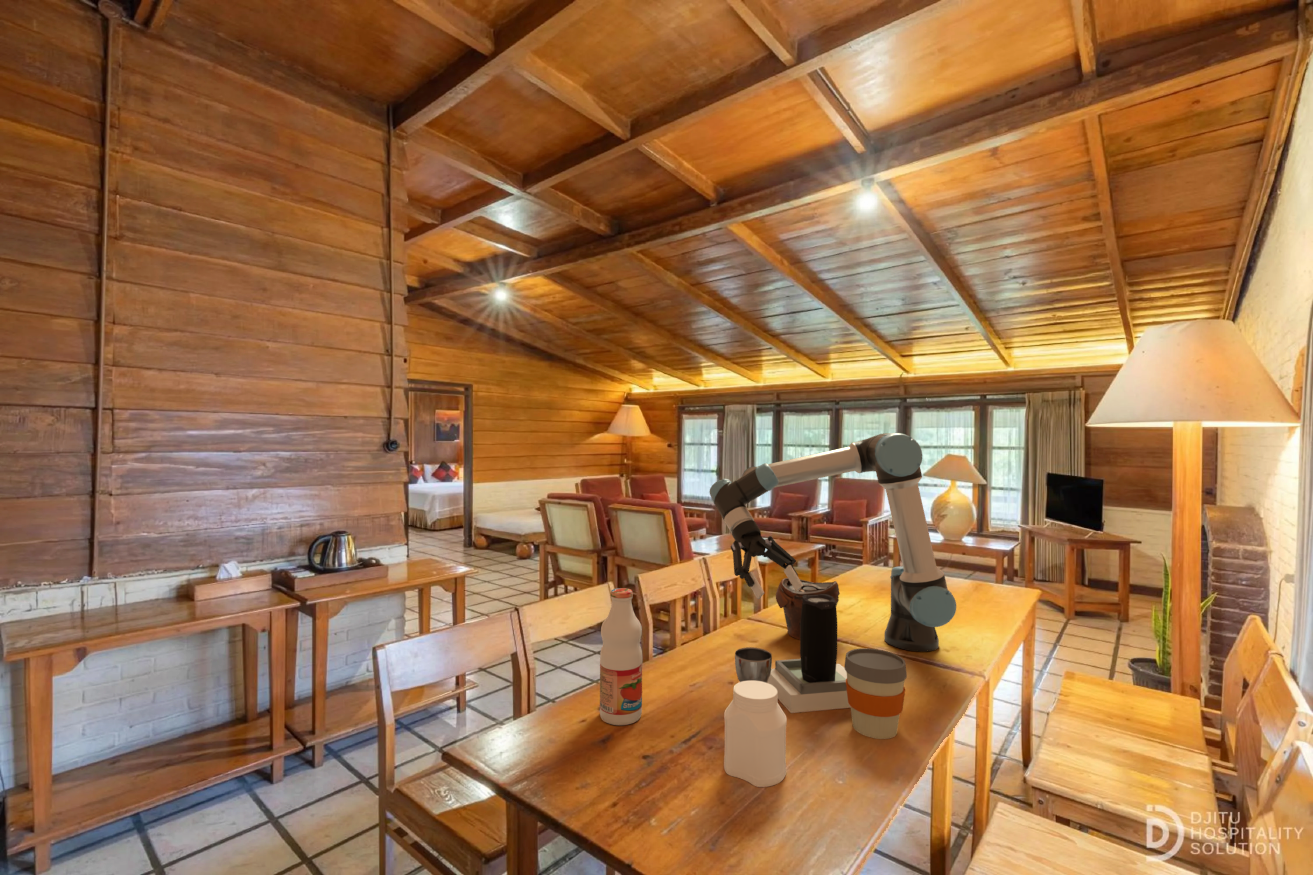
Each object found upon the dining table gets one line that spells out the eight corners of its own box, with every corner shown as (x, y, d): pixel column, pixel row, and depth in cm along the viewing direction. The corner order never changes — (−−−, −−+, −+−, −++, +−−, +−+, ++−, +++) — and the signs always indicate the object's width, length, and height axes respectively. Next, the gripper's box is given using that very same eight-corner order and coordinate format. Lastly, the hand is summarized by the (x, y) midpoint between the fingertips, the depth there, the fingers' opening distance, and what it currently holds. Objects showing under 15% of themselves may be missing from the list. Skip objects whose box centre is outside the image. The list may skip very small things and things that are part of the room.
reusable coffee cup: (908, 748, 117) (908, 673, 117) (842, 736, 121) (843, 664, 121) (904, 719, 129) (905, 652, 129) (845, 710, 133) (845, 644, 133)
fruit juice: (610, 703, 136) (611, 583, 136) (648, 710, 133) (648, 587, 132) (592, 722, 127) (593, 593, 127) (632, 729, 124) (633, 598, 124)
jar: (794, 768, 110) (794, 689, 110) (770, 792, 102) (771, 707, 102) (740, 748, 117) (741, 673, 117) (715, 769, 109) (715, 689, 109)
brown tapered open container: (767, 626, 192) (769, 571, 191) (826, 624, 194) (827, 571, 193) (785, 646, 174) (787, 587, 173) (850, 645, 176) (851, 586, 176)
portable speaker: (825, 669, 146) (826, 591, 145) (844, 685, 136) (845, 602, 136) (793, 671, 144) (794, 592, 144) (810, 688, 135) (811, 603, 135)
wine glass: (773, 716, 130) (774, 649, 130) (768, 734, 122) (769, 662, 122) (738, 711, 132) (738, 645, 132) (731, 727, 125) (731, 657, 125)
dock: (856, 677, 151) (856, 654, 151) (890, 703, 137) (890, 678, 137) (765, 684, 146) (765, 661, 146) (790, 712, 132) (791, 686, 132)
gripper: (769, 531, 173) (807, 592, 160) (701, 539, 160) (736, 607, 147) (782, 515, 169) (822, 577, 156) (713, 522, 155) (750, 591, 143)
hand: (780, 592), depth 151 cm, fingers open, 13 cm apart
